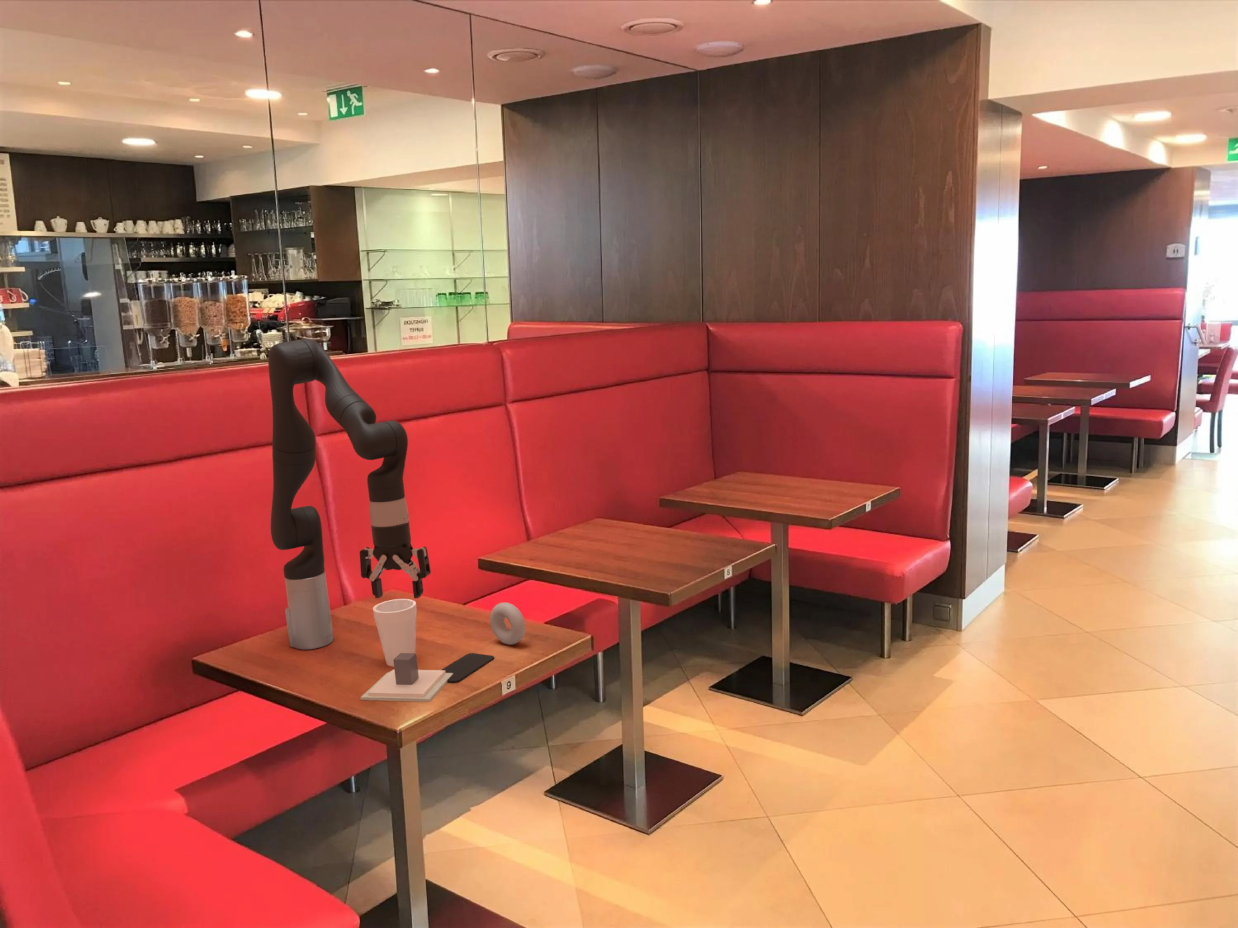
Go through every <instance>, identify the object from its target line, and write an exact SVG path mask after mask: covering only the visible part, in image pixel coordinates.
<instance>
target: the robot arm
mask: <svg viewBox="0 0 1238 928" xmlns="http://www.w3.org/2000/svg"><path fill="white" fill-rule="evenodd" d="M267 359H268V362H267V365H268V376H269V378H268V379H269V385H270V395H271V406H272V407H271V408H272V441H271V442H272V445H271V446H272V448H271V449H272V450H271V451H272V455H271V457H272V458H271V459H272V475H273V478H272V481H273V482H272V485H273V486H272V487H273V488H272V500H271V513H270V535H271V540H272V542H273V545H274V546H275V548H276V549H278V550H280V551H287V550H293V549H296V548H301V547H303V549H302V550H301V552H300V553H299V554H297V555H296V556H294V557H293V558H292V559H290V560H289V561H287V562H286V563H285V564H284V566H283V569H282V570H283V576H284V583H285V584H284V585H285V591H286V592H285V593H286V598H287V607H286V608H285V610H284V612H285V619H286V625H287V626H286V627H287V632H288V633H287V635H288V641H289V647H290V648H295V649H297V650H314V649H318V648H323V647H326V646H327V645H330V644H331V643H333V641H334V639H335V638H334V634H333V633H334V631H333V624H332V623H333V622H332V616H331V615H332V614H331V609H330V607H331V606H330V600H329V593H328V585H327V579H326V578H327V576H326V571H325V570H326V568H325V554H324V553H325V552H324V540H323V526H322V520H321V517H320V513H319V511H318V510H317V508H316V507H315V506H312V505H304V506H300V507H293V508H292V506H293V503H294V500H295V497H296V495H297V493H298V492H299V490H300V489H301V488H302V486H303V485H304V483H305V482H306V481H307V479H308V477H309V475H310V474H311V473H312V471H313V468H314V467H315V463H316V452H317V451H316V448H317V447H316V445H317V444H316V443H317V441H316V439H317V438H316V434H315V431H314V430H313V428H312V427H311V425H310V424H309V422H308V421H307V420H306V418H305V417H304V415H302V414H301V412H300V410H299V409H298V407H297V405H296V403H295V397H294V387H295V386H296V385H301V384H305V383H310V382H314V381H316V382H319V383H321V384H323V386H324V390H325V391H324V404H325V407H326V410H327V412H328V413H329V415H330V416H331V417H332V418H333V420H334V421H335V422H336V423H338V425H339V426H340V427H342V429H343V430H345V433H346V436H347V437H348V439H349V441H350V442H351V444H352V447H353V450H354V452H355V453H356V454H357V456H359V457H360V458H361V459H363V460H367V461H374V460H379V459H383V460H382V463H381V465H380V466H379V467H377V468H376V469H374V470H372V471H371V472H369V473H368V474H367V477H366V479H367V481H366V482H367V489H368V499H369V519H370V528H371V529H370V530H371V537H372V544H373V548H370V547H368V546H366V547H364V548H362V549H361V550H359V563H360V565H359V567H360V576H361V578H362V579H368V580H370V584H371V592H372V595H373V596H374V598H375V599H380V598H381V597H382V598H383V593H384V592H383V591H384V590H383V584H382V583H383V582H382V578H380V577H381V575H382V573H383V572H384V570H385V571H391V570H395V571H401V570H403V572H404V573H405V574H408V575H409V577H410V578H411V579H412V580H413V581H412V582H411V584H412V590H413V591H412V592H413V599H419V598H420V597H421V596H422V595H423V594H424V584H423V579H425V578H427V577H428V576H429V575H431V572H432V571H431V570H432V569H431V566H430V565H431V564H430V560H429V553H428V548H427V547H426V546H422V547H419V548H418V547H417V548H414V547H413V546H412V537H411V528H410V526H411V525H410V519H409V518H410V515H409V514H410V513H409V511H408V510H409V509H408V504H407V499H406V494H405V485H404V484H405V483H404V473H405V468H406V467H405V466H406V460H407V454H408V453H407V452H408V446H409V444H408V443H409V440H408V434H407V432H406V429H405V428H404V426H403V424H401V423H400V422H399V421H396V420H388V421H387V420H386V421H383V422H376V421H377V414H376V412H375V410H374V409H373V407H372V406H371V405H370V404H368V402H367V401H366V400H365V399H363V397H361V396H360V395H359V394H358V393H357V392H356V391H355V390H354V389H353V388H352V387H351V385H350V384H349V383H348V382H347V381H348V380H346V379H345V377H344V376H343V374H342V373H341V371H340V369H339V368H338V366H337V365H336V364H335V363H334V361H333V360H332V358H331V356H330V355H329V354H328V353H327V351H326V350H325V348H324V347H323V346H322V345H321V344H320V343H319V342H317V341H316V340H314V339H311V338H303V339H298V340H297V339H295V340H289V341H284V342H279V343H278V342H277V343H276V344H273V345H272V346H271V348H270V350H269V352H268V358H267ZM413 556H414V557H415V559H417V562H418V565H417V563H416V562H415V561H414V560H413V559H412V557H413ZM373 557H374V558H375V559H376V561H377V563H376V565H375V567H374V568H373V569H372V559H373Z"/></svg>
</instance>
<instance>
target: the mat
mask: <svg viewBox="0 0 1238 928" xmlns="http://www.w3.org/2000/svg"><path fill="white" fill-rule="evenodd" d="M390 672H391V671H388V672H386V673H385V674H384V675H383V676H382V677H381V678H380V679H379V680H378V681H376V682H375V684H373V685H372V686H371V687H370V688H369V689H368V690H367V691H365V692H364V693H363V694H362V695H361V696H360V701H382V702H383V701H385V702H389V701H390V702H420V703H421V702H423V703H425V702H426V703H428V702H429V703H430V702H431V701H432V700H433V699H434V698H435V697H436V696H437V695H438V693H440V691H441V690H442V689H443V688H444V687H445V686H446V685H447V684H448V683H447V680H448V679H449V678H450V677H451V676H452V675H453V673H446V674H445V675H444V676H443V677H442V679H441V680H440V681H439V682H438V683H437V684H436V685H435V686H434V687H433V688H432V689H431V690H430V691H429V692H428V693H427V695H426V696H425V697H424V698H413V697H374V696H368V692H369V691H370V690H372V689H373V688H374V687H375V686H376V685H377V684H378V683H379V682H380V681H381V680H382V679H383V678H384V677H386V676H387V675H388V674H389V673H390Z"/></svg>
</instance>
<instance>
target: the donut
mask: <svg viewBox="0 0 1238 928" xmlns="http://www.w3.org/2000/svg"><path fill="white" fill-rule="evenodd" d="M490 612H491V613H490V617H489V619H490V620H489V623H490V628H491V630H492V633H493V634H494V636H495V637H496V638H497V639H498V640H499V641H500V642H501V643H503V644H505V645H509V646H511V645H512V646H513V645H516V644H517V643H520V642H521V641H522V640H523V638H524V636H525V634H526V621H525V618H524V616H523V614H522V612H521V611H520V610H519V608H518V607H517V606H515V605H514V604H512V603H510V602H499V603H498V604H496V605H495V606H494V607H493V608H492V610H491V611H490ZM505 618H506V619H507V621H508V622H509V625H510V628H509V627H508V626H507V624H506V621H505Z"/></svg>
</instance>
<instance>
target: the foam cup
mask: <svg viewBox="0 0 1238 928" xmlns="http://www.w3.org/2000/svg"><path fill="white" fill-rule="evenodd" d="M417 611H418V610H417V603H416V600H413V599H411V598H409V599H408V598H395V599H391V600H385V601H382V602H380V603H377V604H376V605H374V606H373V607H372V612H373V621H375V624H376V628H377V629H376V630H377V632H378V637H379V640H380V644H381V647H382V651H383V652H382V653H383V656H384V659H385V663H386V665H387V666H388V667H394V661H393V659H394V658H396V657H397V656H398V655H399V654H400V653H416V641H417V639H416V636H417V635H416V634H417V633H416V632H417V615H418V612H417Z"/></svg>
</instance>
